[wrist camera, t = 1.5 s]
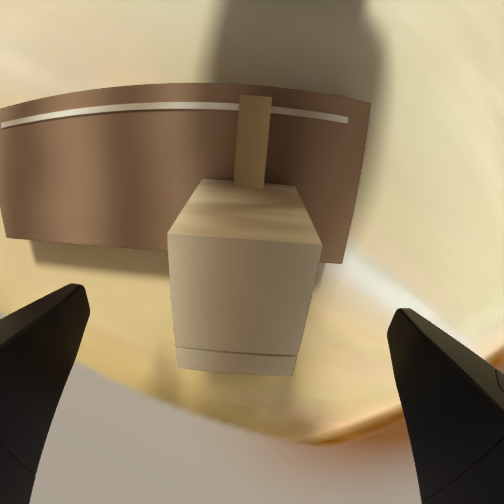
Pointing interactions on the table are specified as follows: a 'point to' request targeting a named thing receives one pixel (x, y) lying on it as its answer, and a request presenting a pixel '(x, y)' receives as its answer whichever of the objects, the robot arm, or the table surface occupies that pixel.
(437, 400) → the robot arm
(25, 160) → the walnut board
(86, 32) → the table surface
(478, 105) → the table surface
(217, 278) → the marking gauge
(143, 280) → the table surface
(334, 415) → the table surface
